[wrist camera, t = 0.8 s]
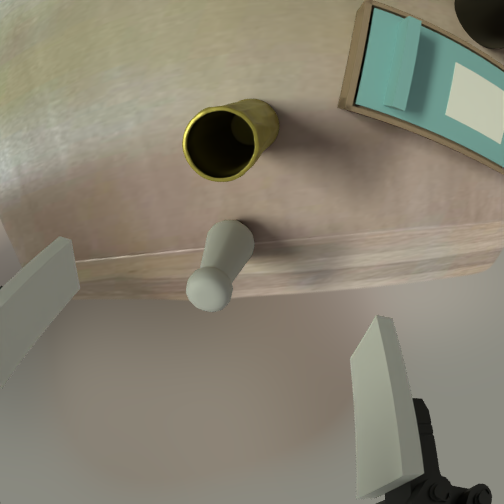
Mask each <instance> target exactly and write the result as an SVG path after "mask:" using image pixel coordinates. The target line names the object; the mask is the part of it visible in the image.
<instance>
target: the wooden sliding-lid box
mask: <svg viewBox="0 0 504 504" xmlns="http://www.w3.org/2000/svg"><path fill="white" fill-rule="evenodd" d="M374 8H377V9H380V10H383V11H385V12H388V13H391V14H394V15H396V16H399V17H401V18H404V19H405V18H406V17H408V16H411V17H414V18H416V19H418V20H420V21H422V22H421V26H423V27H425V28H427V29H429V30H431V31H433V32H436V33H438V34H440V35H442V36H444V37H446V38H448V39H450V40H451V41H453V42H455V43H457V44H459V45H461V46H462V47H464V48H466V49H468V50H469V51H471V52H473V53H475V54H476V55H478V56H480V57H481V58H483V59H484V60H486V61H488V62H489V63H491V64H492V65H494V66H495V67H497V68H498V69H500V70H501V71H502V72H504V66H503V65H502V64H501V63H499V62H498V61H496V60H495V59H493V58H492V57H490V56H489V55H487V54H485V53H484V52H482V51H481V50H479V49H477V48H476V47H474V46H472V45H471V44H469V43H467V42H466V41H464V40H462V39H460V38H458V37H457V36H455V35H453V34H451V33H449V32H447V31H445V30H443V29H441V28H439V27H437V26H435V25H433V24H431V23H429V22H427V21H425V20H422V19H420V18H418V17H415V16H413V15H411V14H408V13H406V12H403V11H401V10H398V9H396V8H393V7H390V6H388V5H385V4H382V3H379V2H376V1H373V0H365V1H364V2H363V4H362V5H361V7H360V8H359V9H358V11H357V13H356V19H355V25H354V30H353V35H352V41H351V46H350V51H349V56H348V61H347V66H346V71H345V76H344V80H343V85H342V90H341V94H340V99H339V103H338V108H341V109H344V110H348V111H351V112H355V113H358V114H361V115H364V116H368V117H371V118H374V119H377V120H380V121H383V122H386V123H389V124H392V125H394V126H397V127H400V128H403V129H405V130H408V131H411V132H413V133H416V134H418V135H421V136H423V137H426V138H428V139H431V140H433V141H435V142H438V143H440V144H442V145H444V146H447V147H449V148H451V149H453V150H455V151H458V152H460V153H462V154H464V155H466V156H468V157H470V158H472V159H474V160H476V161H478V162H480V163H482V164H484V165H486V166H488V167H490V168H492V169H494V170H496V171H497V172H499V173H501V174H503V175H504V170H503V169H502V166H500V165H498V164H497V163H495V162H493V161H491V160H489V159H488V158H486V157H484V156H482V155H480V154H478V153H476V152H474V151H472V150H470V149H468V148H466V147H464V146H462V145H460V144H458V143H456V142H454V141H452V140H450V139H447V138H445V137H443V136H441V135H439V134H436V133H434V132H432V131H429V130H427V129H424V128H422V127H420V126H417V125H415V124H412V123H409V122H407V121H404V120H402V119H399V118H396V117H393V116H391V115H388V114H385V113H382V112H379V111H376V110H373V109H370V108H367V107H364V106H360V105H357V104H355V100H356V95H357V91H358V86H359V82H360V77H361V72H362V67H363V62H364V57H365V52H366V47H367V42H368V36H369V31H370V25H371V19H372V13H373V9H374Z"/></svg>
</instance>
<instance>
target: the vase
mask: <svg viewBox="0 0 504 504" xmlns="http://www.w3.org/2000/svg"><path fill="white" fill-rule="evenodd" d="M278 132H279V121H278V117H277V115H276V113H275V111H274V110H273V109H272V108H271V107H270V106H269V105H268V104H267V103H265V102H263V101H260V100H257V99H244V100H241V101H239V102H236V103H231V104H228V105H224V106H217V107H208V108H205V109H203V110H202V111H200V112H199V113H198V114H197V115H196V116H195V117H194V118H193V119H192V120H191V121H190V122H189V123H188V125H187V127H186V129H185V132H184V135H183V142H182V147H183V152H184V155H185V158H186V160H187V162H188V163H189V165H190V166H191V167H192V169H193V170H194V171H195V172H196V173H197V174H199V175H200V176H201V177H203V178H205V179H208V180H211V181H216V182H227V181H232V180H235V179H237V178H239V177H241V176H243V175H244V174H245V173H246V172H247V171H248V170H249V169H250V168H251V167H252V166H253V165H254V164H255V163H256V161H257V160H258V158H259V157H260V156H261V154H262V152H263V151H264V150H265V149H266V148H268V147H269V146H270V145H271V144H272V143H273V142H274V141H275V139H276V137H277V135H278Z"/></svg>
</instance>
